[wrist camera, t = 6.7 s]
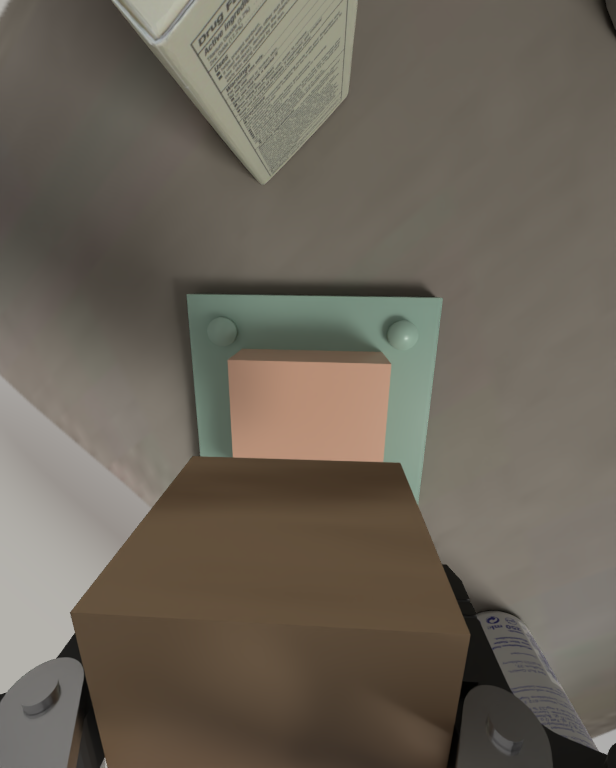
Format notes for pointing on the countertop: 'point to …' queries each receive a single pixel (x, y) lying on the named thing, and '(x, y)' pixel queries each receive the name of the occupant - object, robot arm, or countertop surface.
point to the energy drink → (532, 675)
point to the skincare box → (254, 67)
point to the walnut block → (276, 624)
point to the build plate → (318, 332)
